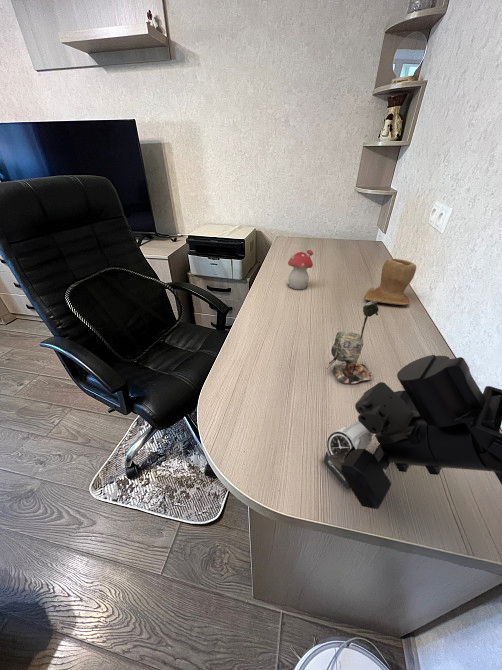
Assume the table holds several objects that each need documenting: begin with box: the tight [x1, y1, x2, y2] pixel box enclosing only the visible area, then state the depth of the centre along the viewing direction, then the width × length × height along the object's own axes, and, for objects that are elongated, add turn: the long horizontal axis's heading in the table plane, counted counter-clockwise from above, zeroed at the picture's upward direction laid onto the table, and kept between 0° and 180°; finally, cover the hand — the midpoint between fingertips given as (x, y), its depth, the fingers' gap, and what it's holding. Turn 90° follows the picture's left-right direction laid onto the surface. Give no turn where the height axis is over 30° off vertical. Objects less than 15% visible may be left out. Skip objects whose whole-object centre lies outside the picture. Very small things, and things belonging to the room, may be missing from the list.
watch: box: [323, 421, 374, 489], centre depth 47 cm, size 6×8×11 cm
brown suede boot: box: [364, 257, 417, 306], centre depth 99 cm, size 15×12×15 cm
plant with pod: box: [325, 300, 379, 384], centre depth 64 cm, size 8×11×20 cm
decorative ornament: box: [287, 249, 314, 290], centre depth 107 cm, size 9×6×15 cm
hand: (342, 441), depth 47 cm, fingers closed on watch, 8 cm apart
